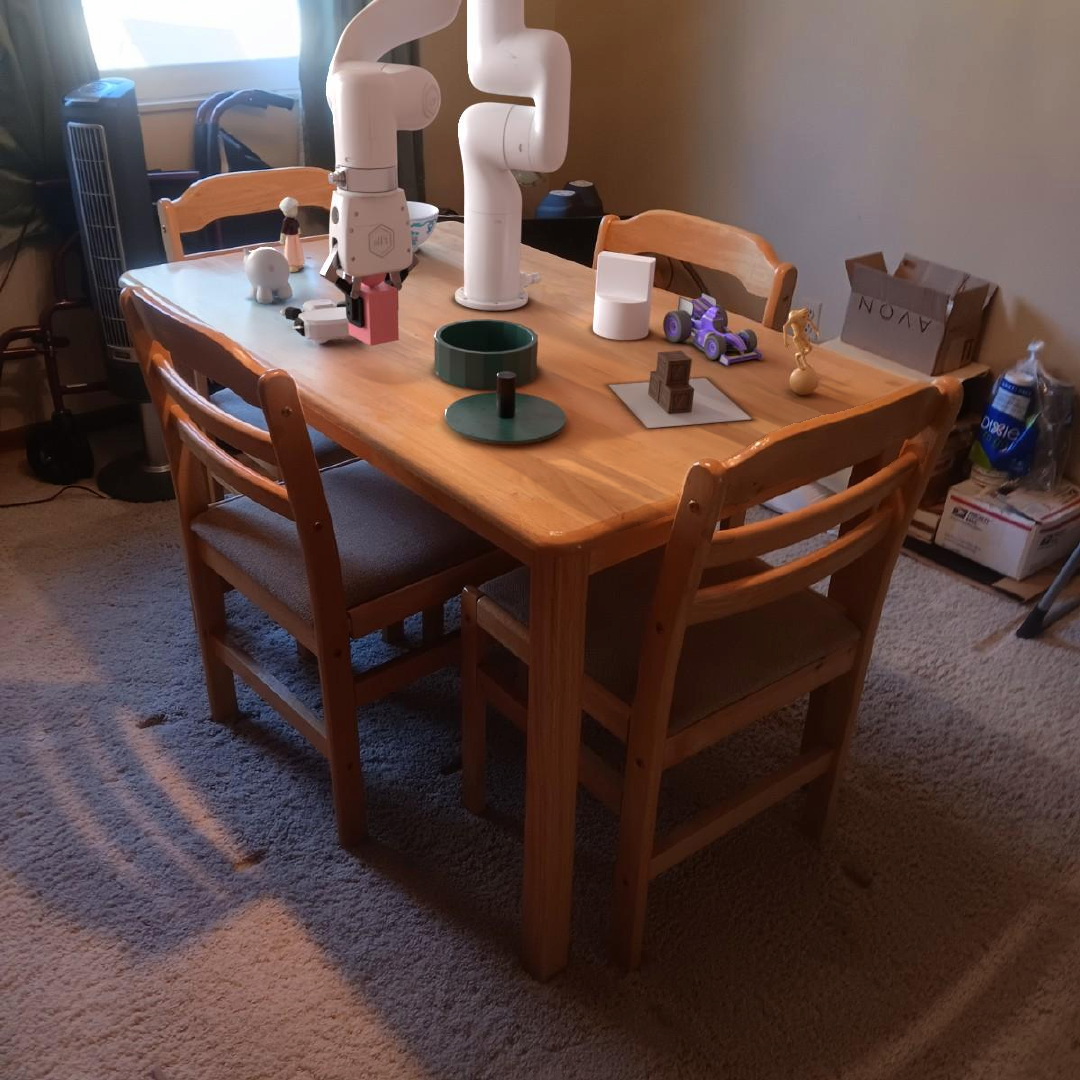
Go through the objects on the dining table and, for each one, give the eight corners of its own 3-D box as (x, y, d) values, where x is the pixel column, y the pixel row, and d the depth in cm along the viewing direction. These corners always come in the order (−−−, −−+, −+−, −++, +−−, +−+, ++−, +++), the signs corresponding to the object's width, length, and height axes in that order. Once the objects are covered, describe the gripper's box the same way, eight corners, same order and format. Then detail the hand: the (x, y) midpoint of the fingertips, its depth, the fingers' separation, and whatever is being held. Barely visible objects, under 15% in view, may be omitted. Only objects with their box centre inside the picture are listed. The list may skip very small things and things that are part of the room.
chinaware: (352, 255, 195) (350, 214, 191) (376, 237, 208) (374, 198, 204) (428, 262, 193) (427, 221, 189) (447, 243, 206) (446, 204, 202)
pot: (494, 346, 155) (495, 312, 152) (557, 376, 145) (559, 341, 142) (415, 365, 146) (414, 330, 144) (476, 398, 137) (476, 361, 134)
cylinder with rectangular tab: (585, 334, 161) (590, 259, 155) (602, 318, 168) (607, 246, 162) (640, 343, 159) (647, 267, 153) (654, 326, 166) (661, 253, 160)
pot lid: (514, 390, 140) (516, 345, 136) (590, 429, 130) (594, 381, 126) (421, 416, 131) (420, 368, 128) (494, 459, 121) (495, 409, 117)
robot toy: (277, 328, 160) (302, 353, 148) (274, 300, 158) (299, 322, 146) (351, 320, 165) (382, 343, 153) (349, 292, 163) (380, 313, 151)
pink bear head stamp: (376, 328, 139) (373, 244, 133) (399, 340, 135) (396, 254, 129) (347, 334, 136) (342, 248, 130) (369, 346, 132) (365, 258, 127)
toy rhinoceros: (272, 283, 178) (267, 234, 173) (298, 301, 169) (294, 250, 165) (232, 288, 174) (226, 238, 170) (257, 307, 166) (252, 255, 161)
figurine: (796, 405, 140) (811, 321, 134) (760, 392, 143) (774, 309, 137) (829, 391, 145) (845, 309, 139) (794, 378, 148) (808, 298, 142)
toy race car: (719, 368, 151) (725, 326, 147) (660, 337, 162) (665, 297, 158) (768, 359, 155) (775, 318, 152) (707, 329, 166) (712, 290, 163)
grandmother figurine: (300, 274, 183) (295, 202, 177) (279, 273, 183) (273, 201, 177) (309, 262, 190) (304, 193, 183) (289, 261, 190) (283, 192, 183)
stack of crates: (751, 419, 135) (759, 371, 131) (647, 428, 131) (652, 378, 127) (704, 378, 147) (710, 333, 143) (608, 385, 143) (612, 339, 139)
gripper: (322, 191, 118) (331, 341, 127) (440, 178, 128) (441, 318, 137) (291, 179, 123) (302, 324, 132) (407, 168, 133) (410, 304, 142)
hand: (372, 320), depth 134 cm, fingers closed on pink bear head stamp, 4 cm apart
